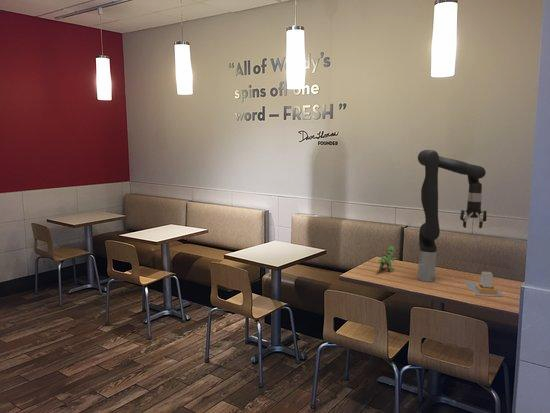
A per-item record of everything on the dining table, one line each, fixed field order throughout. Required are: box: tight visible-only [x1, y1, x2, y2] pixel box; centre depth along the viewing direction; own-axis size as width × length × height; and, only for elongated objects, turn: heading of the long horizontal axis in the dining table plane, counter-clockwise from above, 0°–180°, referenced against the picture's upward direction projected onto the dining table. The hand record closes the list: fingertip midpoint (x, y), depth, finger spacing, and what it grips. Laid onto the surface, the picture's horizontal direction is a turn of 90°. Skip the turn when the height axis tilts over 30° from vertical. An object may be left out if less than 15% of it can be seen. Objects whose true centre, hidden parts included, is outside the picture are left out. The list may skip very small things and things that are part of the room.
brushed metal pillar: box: [480, 271, 494, 289], centre depth 264 cm, size 4×4×10 cm
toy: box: [378, 245, 397, 273], centre depth 303 cm, size 12×21×15 cm, turn 172°
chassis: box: [464, 281, 503, 298], centre depth 269 cm, size 14×22×4 cm, turn 174°
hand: (472, 227), depth 289 cm, fingers open, 8 cm apart
